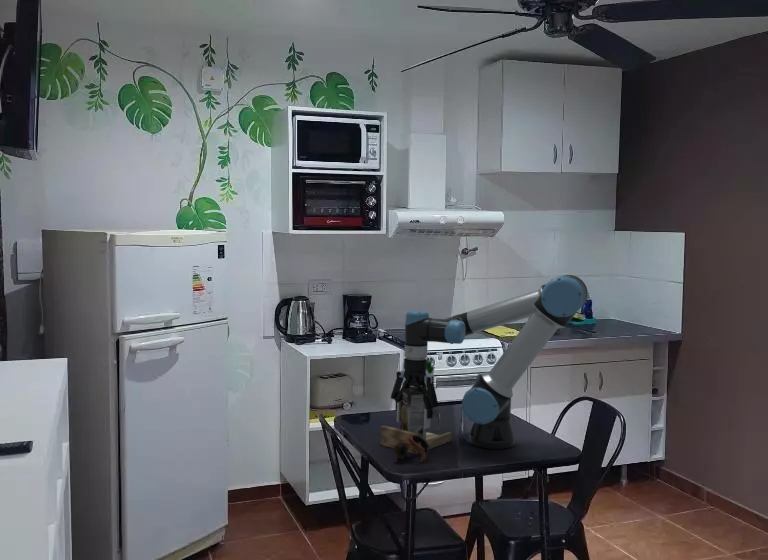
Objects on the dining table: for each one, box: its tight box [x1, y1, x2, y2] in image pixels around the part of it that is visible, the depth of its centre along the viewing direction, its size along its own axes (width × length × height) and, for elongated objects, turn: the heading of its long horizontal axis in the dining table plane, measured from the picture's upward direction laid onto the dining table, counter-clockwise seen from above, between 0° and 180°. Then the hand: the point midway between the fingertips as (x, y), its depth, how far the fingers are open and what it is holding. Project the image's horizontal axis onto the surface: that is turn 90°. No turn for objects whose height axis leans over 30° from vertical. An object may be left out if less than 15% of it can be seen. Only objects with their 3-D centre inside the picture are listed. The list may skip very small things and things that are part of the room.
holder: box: [379, 425, 453, 455], centre depth 236 cm, size 15×20×6 cm
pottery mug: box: [393, 435, 431, 463], centre depth 218 cm, size 12×10×8 cm
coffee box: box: [399, 386, 428, 440], centre depth 235 cm, size 9×6×16 cm
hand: (413, 424), depth 235 cm, fingers closed on coffee box, 11 cm apart
